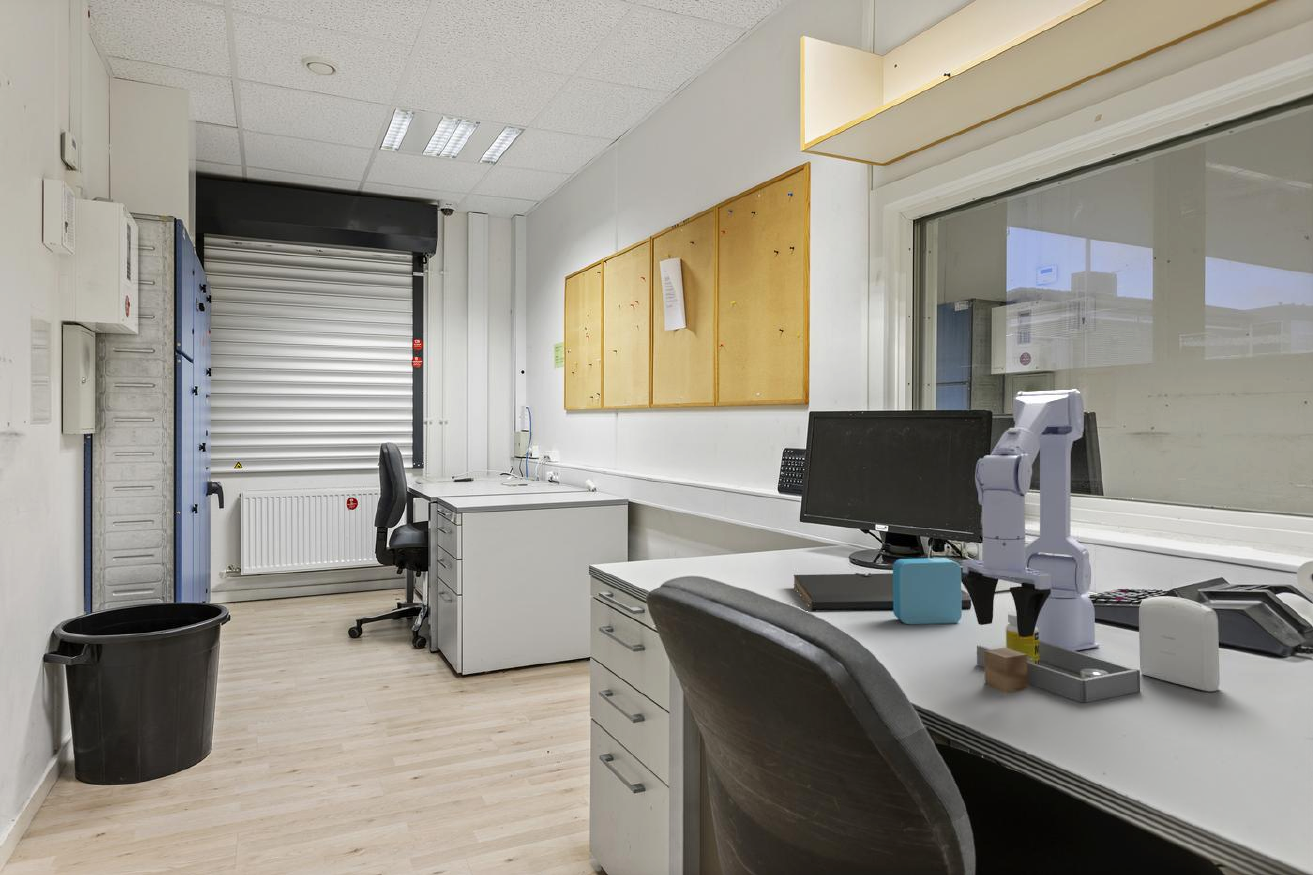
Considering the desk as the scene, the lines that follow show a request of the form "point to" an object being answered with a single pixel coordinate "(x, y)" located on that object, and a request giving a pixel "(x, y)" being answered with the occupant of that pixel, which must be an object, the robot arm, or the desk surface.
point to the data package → (927, 591)
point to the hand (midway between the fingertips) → (1004, 629)
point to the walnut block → (1006, 669)
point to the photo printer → (1179, 642)
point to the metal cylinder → (1092, 673)
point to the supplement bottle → (1022, 640)
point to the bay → (1074, 688)
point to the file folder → (851, 591)
